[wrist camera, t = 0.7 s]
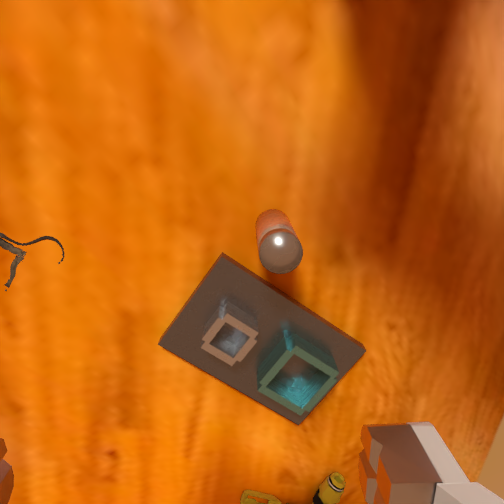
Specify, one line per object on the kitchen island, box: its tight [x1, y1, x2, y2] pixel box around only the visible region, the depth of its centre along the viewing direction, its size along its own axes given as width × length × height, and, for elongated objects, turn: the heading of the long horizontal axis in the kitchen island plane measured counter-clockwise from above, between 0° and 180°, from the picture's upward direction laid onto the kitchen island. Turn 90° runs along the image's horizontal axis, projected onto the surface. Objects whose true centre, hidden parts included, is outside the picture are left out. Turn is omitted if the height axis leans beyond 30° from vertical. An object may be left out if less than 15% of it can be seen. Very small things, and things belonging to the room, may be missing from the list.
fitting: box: [255, 209, 303, 274], centre depth 41 cm, size 4×4×10 cm
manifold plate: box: [158, 252, 366, 425], centre depth 48 cm, size 14×22×4 cm, turn 55°
